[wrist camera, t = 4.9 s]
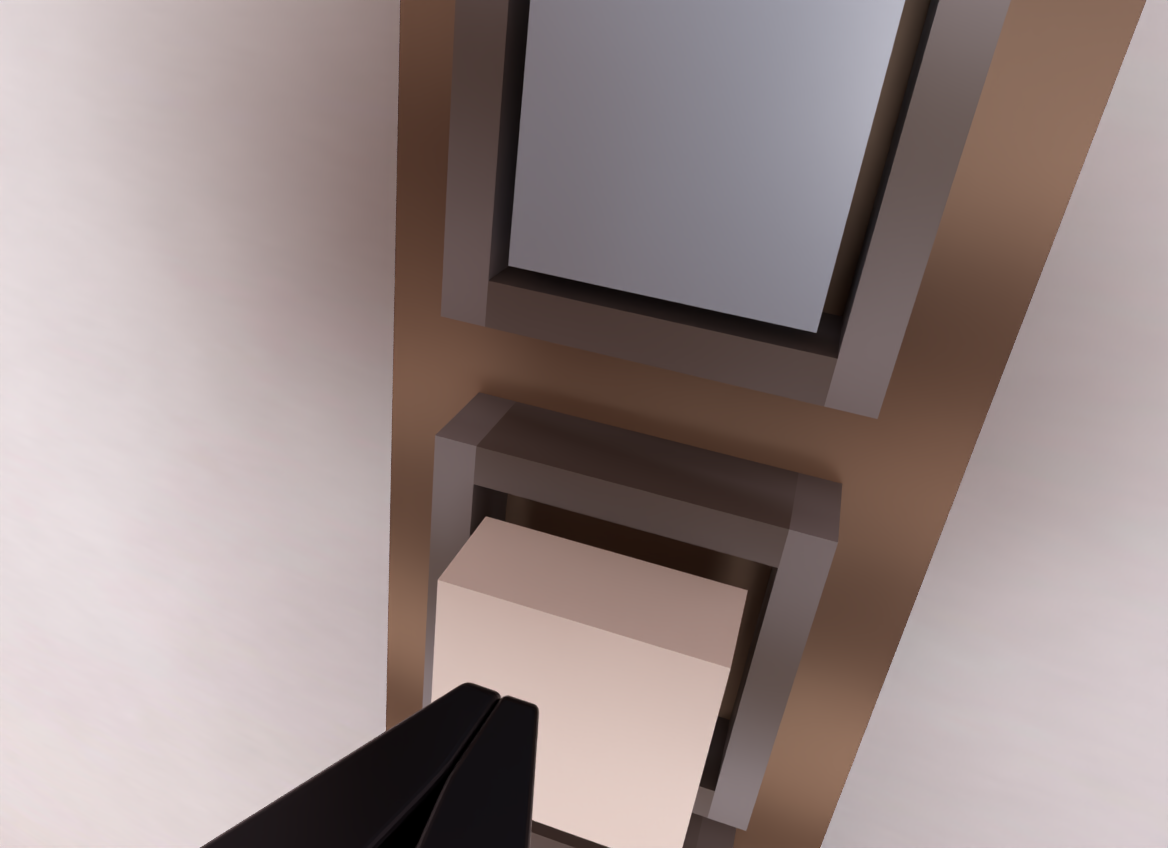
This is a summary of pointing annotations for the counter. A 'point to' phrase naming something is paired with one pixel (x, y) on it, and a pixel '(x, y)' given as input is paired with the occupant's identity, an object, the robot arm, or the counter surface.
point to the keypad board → (733, 377)
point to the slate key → (697, 146)
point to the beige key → (593, 673)
